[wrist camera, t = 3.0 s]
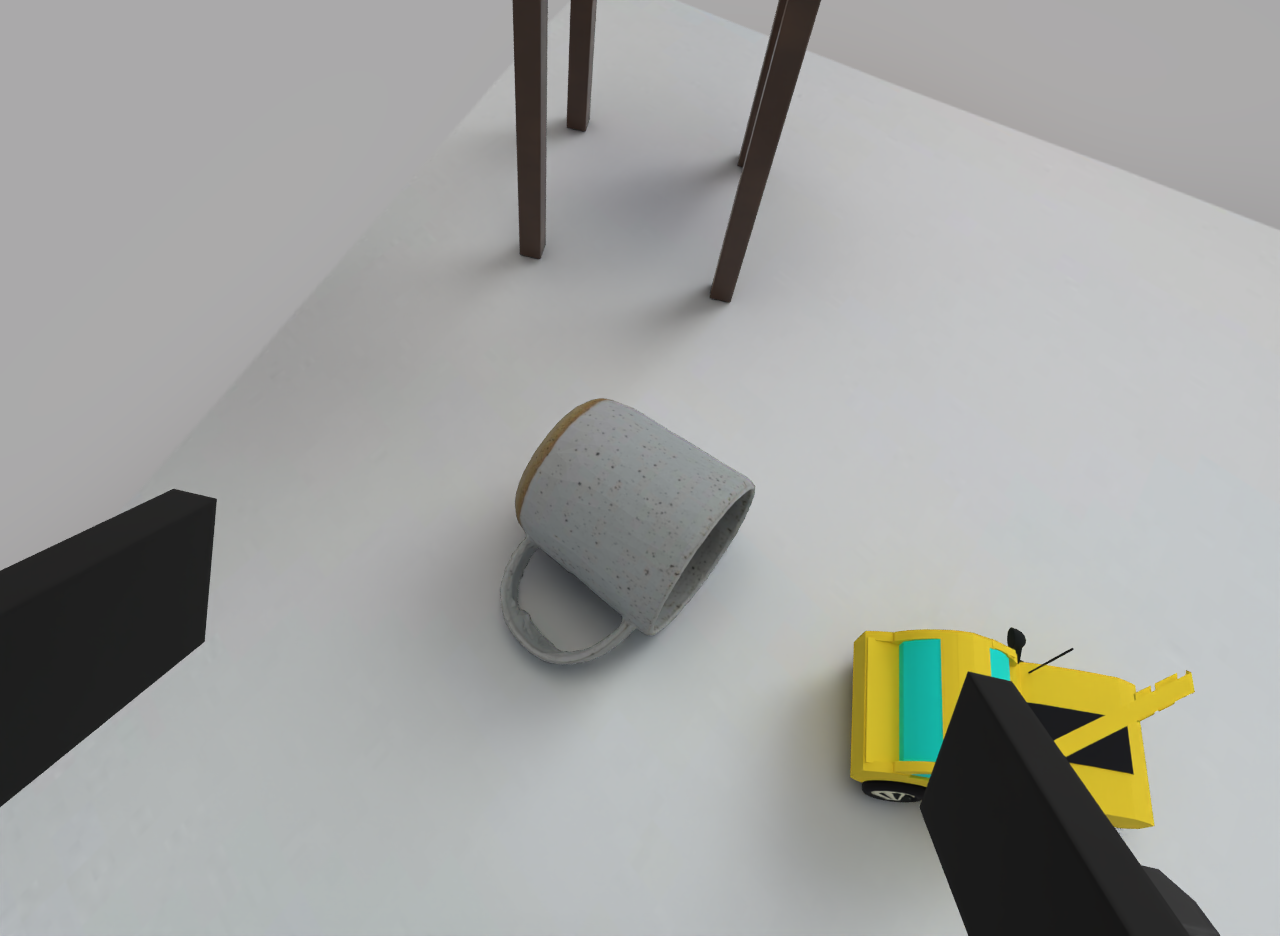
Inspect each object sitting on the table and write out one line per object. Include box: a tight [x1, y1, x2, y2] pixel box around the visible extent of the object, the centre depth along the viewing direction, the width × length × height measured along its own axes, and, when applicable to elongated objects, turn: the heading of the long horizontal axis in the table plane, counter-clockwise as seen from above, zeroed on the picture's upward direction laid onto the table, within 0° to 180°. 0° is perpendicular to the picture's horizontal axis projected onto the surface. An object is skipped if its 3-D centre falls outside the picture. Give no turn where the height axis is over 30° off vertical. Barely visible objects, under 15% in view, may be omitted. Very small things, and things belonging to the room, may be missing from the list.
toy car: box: [850, 628, 1195, 829], centre depth 34 cm, size 12×8×8 cm, turn 82°
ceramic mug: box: [500, 399, 755, 665], centre depth 36 cm, size 11×8×8 cm
